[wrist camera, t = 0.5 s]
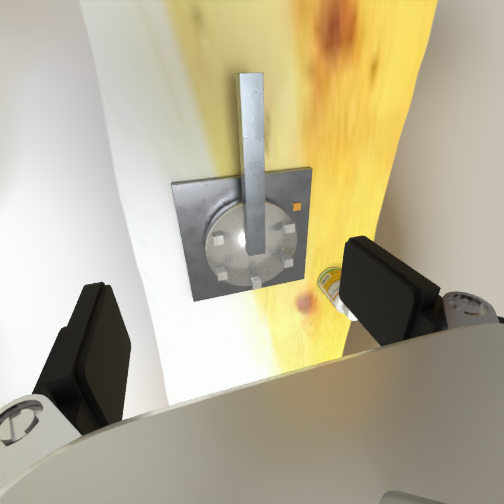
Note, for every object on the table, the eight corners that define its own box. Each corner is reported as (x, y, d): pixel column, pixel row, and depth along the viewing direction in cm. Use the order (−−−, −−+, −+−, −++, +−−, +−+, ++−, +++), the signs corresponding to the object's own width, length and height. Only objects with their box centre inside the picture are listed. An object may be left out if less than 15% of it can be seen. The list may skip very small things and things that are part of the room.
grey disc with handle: (179, 76, 31) (182, 75, 27) (297, 71, 34) (314, 70, 30) (209, 284, 46) (213, 302, 43) (289, 269, 49) (299, 283, 46)
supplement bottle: (341, 284, 57) (371, 318, 49) (317, 292, 56) (343, 327, 48) (342, 263, 54) (374, 295, 46) (316, 270, 53) (344, 304, 45)
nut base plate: (171, 183, 38) (171, 186, 37) (309, 167, 42) (313, 169, 41) (193, 298, 48) (193, 302, 47) (301, 275, 53) (304, 279, 51)
